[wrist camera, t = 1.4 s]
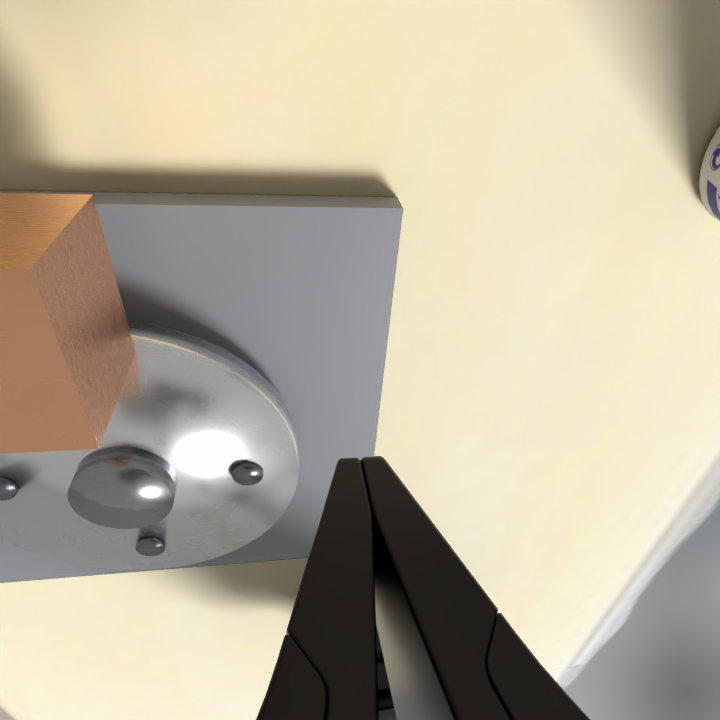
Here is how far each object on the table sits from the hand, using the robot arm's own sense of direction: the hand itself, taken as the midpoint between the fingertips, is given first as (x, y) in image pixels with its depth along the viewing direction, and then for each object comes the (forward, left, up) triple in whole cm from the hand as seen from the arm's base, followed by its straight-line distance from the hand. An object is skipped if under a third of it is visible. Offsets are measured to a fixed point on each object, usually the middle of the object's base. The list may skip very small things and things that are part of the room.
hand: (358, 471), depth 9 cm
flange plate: (-6, +8, -8) cm, 13 cm away
